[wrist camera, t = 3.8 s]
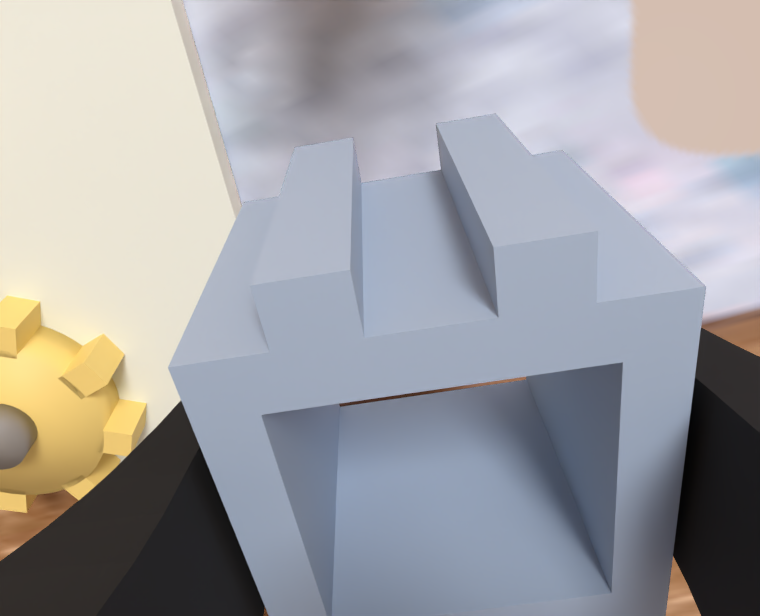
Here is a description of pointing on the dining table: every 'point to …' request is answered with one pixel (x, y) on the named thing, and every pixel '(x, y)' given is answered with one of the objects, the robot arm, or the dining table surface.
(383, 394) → the ridged hollow box frame
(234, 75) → the dining table surface
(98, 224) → the board
